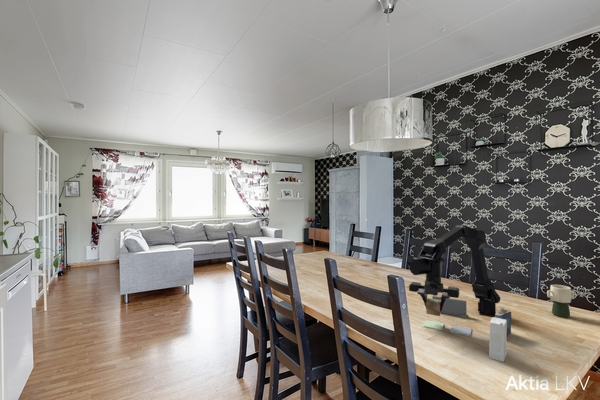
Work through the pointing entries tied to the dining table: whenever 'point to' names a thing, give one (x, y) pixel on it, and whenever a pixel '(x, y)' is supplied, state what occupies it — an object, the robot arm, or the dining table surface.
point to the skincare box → (498, 339)
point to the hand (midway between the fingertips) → (433, 310)
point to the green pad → (433, 325)
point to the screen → (453, 306)
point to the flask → (507, 316)
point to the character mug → (560, 299)
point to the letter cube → (433, 307)
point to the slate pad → (461, 330)
